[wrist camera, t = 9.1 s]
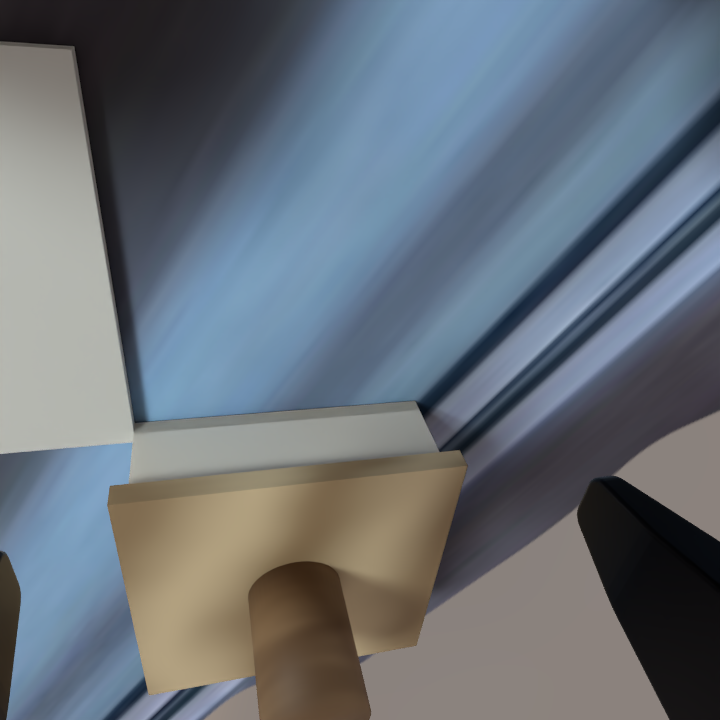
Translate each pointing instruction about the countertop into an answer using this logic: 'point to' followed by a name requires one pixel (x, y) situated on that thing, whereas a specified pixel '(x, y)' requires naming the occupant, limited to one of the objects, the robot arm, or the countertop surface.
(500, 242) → the countertop surface
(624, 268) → the countertop surface
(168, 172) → the countertop surface
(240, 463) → the dish
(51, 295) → the mat
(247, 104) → the countertop surface
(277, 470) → the lid
